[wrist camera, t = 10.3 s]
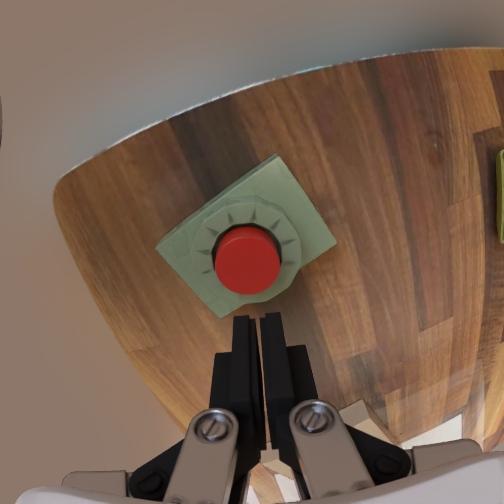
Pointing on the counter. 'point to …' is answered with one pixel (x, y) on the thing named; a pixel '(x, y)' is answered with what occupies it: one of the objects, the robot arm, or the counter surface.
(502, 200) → the green square tray
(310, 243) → the green button base
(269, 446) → the panel
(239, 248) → the button
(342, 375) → the counter surface
